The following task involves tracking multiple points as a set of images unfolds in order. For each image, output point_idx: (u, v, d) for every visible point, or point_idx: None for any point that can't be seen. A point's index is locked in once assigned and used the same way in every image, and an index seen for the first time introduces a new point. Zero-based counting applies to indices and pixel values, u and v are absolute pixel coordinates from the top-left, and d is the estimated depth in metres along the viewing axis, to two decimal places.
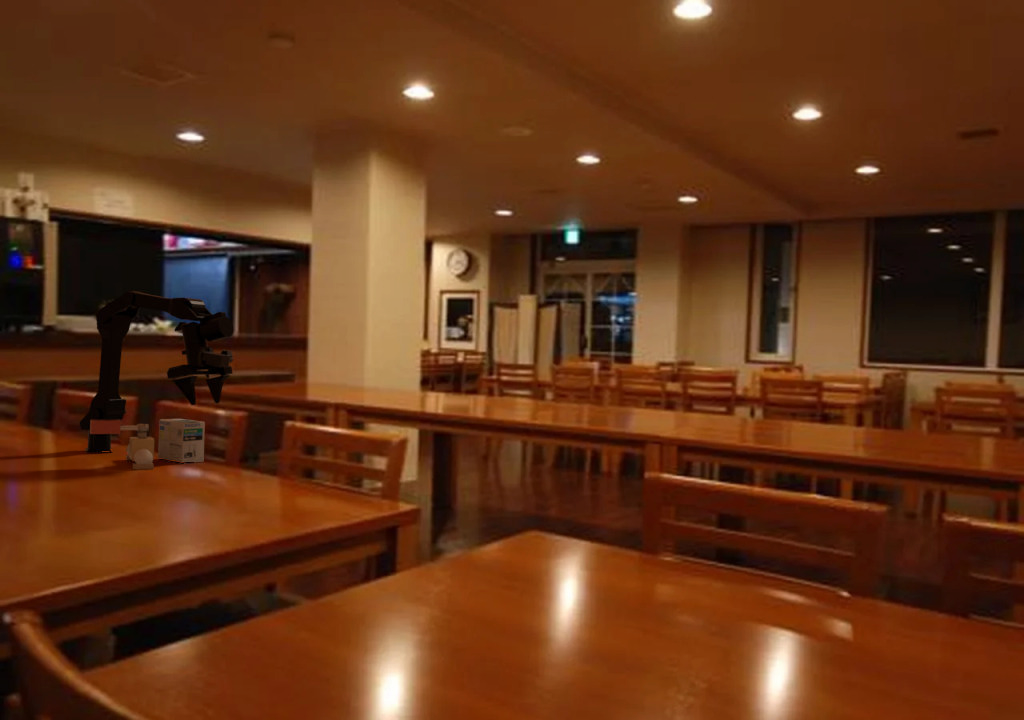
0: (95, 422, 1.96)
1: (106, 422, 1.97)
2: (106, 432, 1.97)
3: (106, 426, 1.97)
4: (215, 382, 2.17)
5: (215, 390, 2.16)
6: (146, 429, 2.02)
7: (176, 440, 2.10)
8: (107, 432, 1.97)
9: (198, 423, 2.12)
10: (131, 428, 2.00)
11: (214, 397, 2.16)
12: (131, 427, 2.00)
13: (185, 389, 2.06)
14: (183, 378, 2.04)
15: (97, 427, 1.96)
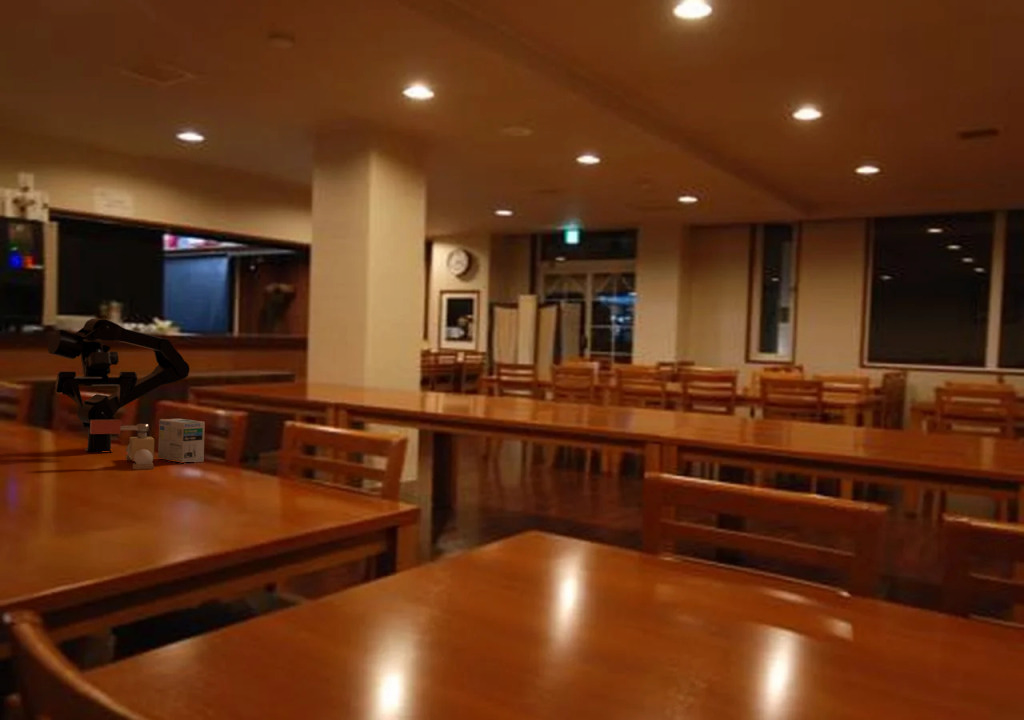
0: (95, 422, 1.96)
1: (106, 422, 1.97)
2: (106, 432, 1.97)
3: (106, 426, 1.97)
4: (119, 389, 2.16)
5: (119, 395, 2.15)
6: (146, 429, 2.02)
7: (176, 440, 2.10)
8: (107, 432, 1.97)
9: (198, 423, 2.12)
10: (131, 428, 2.00)
11: (118, 402, 2.14)
12: (131, 427, 2.00)
13: (73, 396, 2.09)
14: (64, 384, 2.08)
15: (97, 427, 1.96)
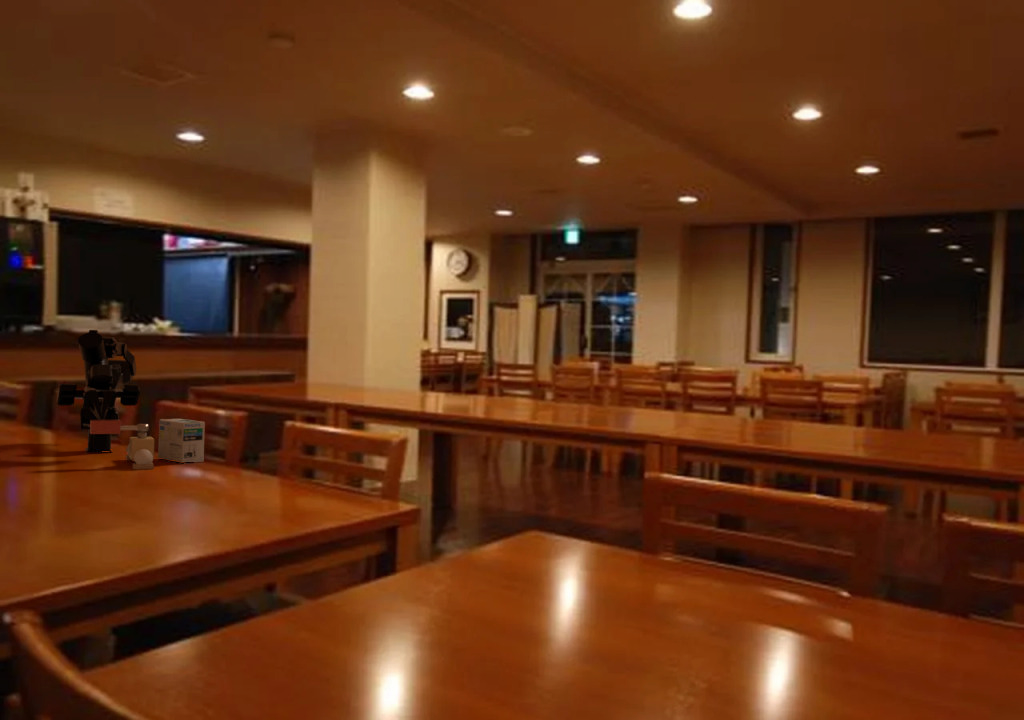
0: (95, 422, 1.96)
1: (106, 422, 1.97)
2: (106, 432, 1.97)
3: (106, 426, 1.97)
4: (102, 402, 2.08)
5: (101, 409, 2.07)
6: (146, 429, 2.02)
7: (176, 440, 2.10)
8: (107, 432, 1.97)
9: (198, 423, 2.12)
10: (131, 428, 2.00)
11: None
12: (131, 427, 2.00)
13: (93, 409, 2.07)
14: (84, 396, 2.06)
15: (97, 427, 1.96)
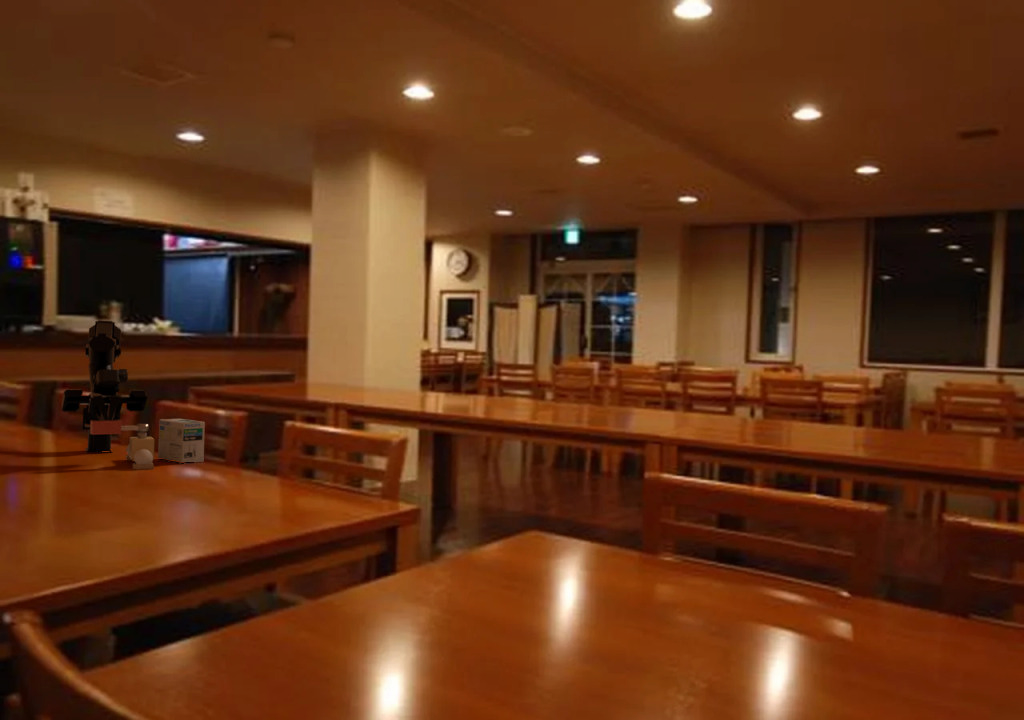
0: (96, 422, 1.95)
1: (107, 422, 1.96)
2: (107, 432, 1.96)
3: (107, 426, 1.96)
4: (108, 408, 2.02)
5: (108, 415, 2.01)
6: (146, 429, 2.02)
7: (176, 440, 2.10)
8: (108, 432, 1.97)
9: (198, 423, 2.12)
10: (132, 428, 2.00)
11: None
12: (132, 427, 2.00)
13: (99, 415, 2.01)
14: (90, 402, 2.00)
15: (98, 427, 1.95)
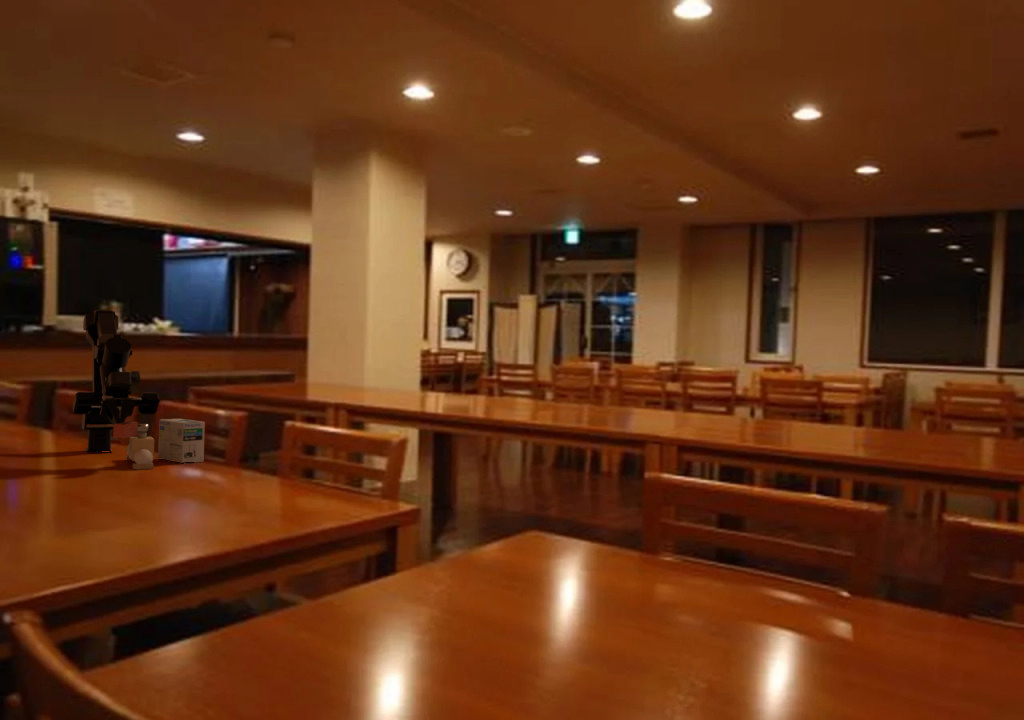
0: (126, 426, 1.92)
1: (131, 425, 1.94)
2: (131, 435, 1.94)
3: (131, 429, 1.94)
4: (120, 411, 1.98)
5: (120, 418, 1.97)
6: None
7: (176, 440, 2.10)
8: (131, 435, 1.94)
9: (198, 423, 2.12)
10: (140, 429, 2.00)
11: None
12: (140, 428, 2.00)
13: (111, 418, 1.97)
14: (102, 405, 1.96)
15: (127, 430, 1.92)
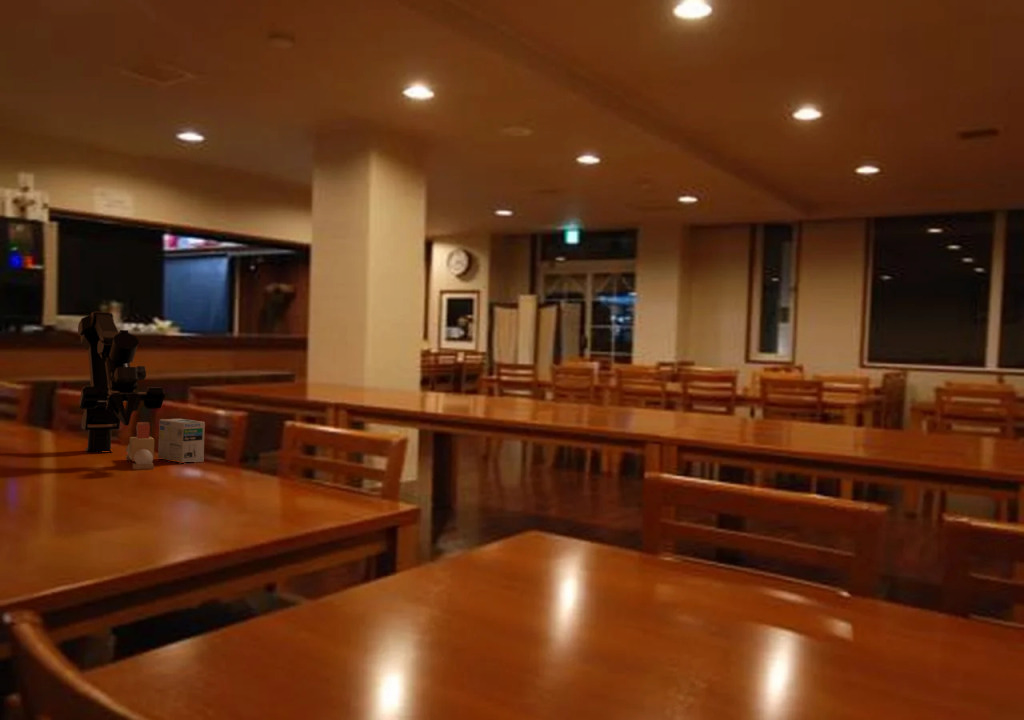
0: (149, 426, 1.93)
1: None
2: None
3: None
4: (126, 406, 2.01)
5: (126, 413, 2.00)
6: None
7: (176, 440, 2.10)
8: None
9: (198, 423, 2.12)
10: None
11: None
12: None
13: (118, 412, 2.00)
14: (108, 400, 1.99)
15: None
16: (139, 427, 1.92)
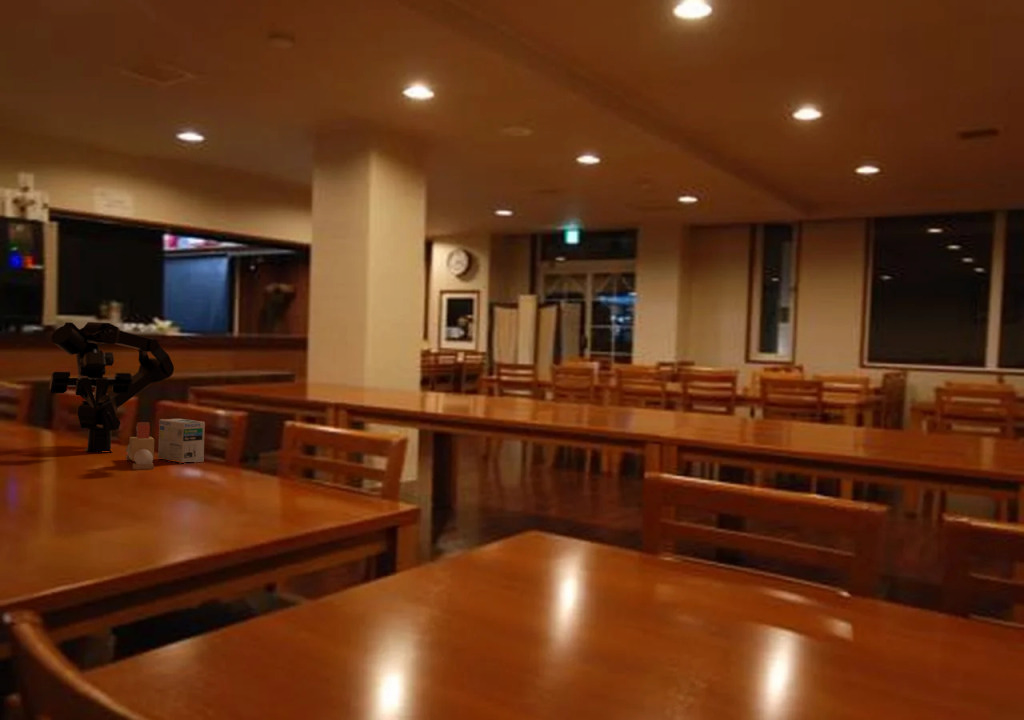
0: (149, 426, 1.93)
1: None
2: None
3: None
4: (95, 390, 2.10)
5: (95, 396, 2.09)
6: None
7: (176, 440, 2.10)
8: None
9: (198, 423, 2.12)
10: None
11: None
12: None
13: (86, 396, 2.09)
14: (77, 384, 2.08)
15: None
16: (139, 427, 1.92)
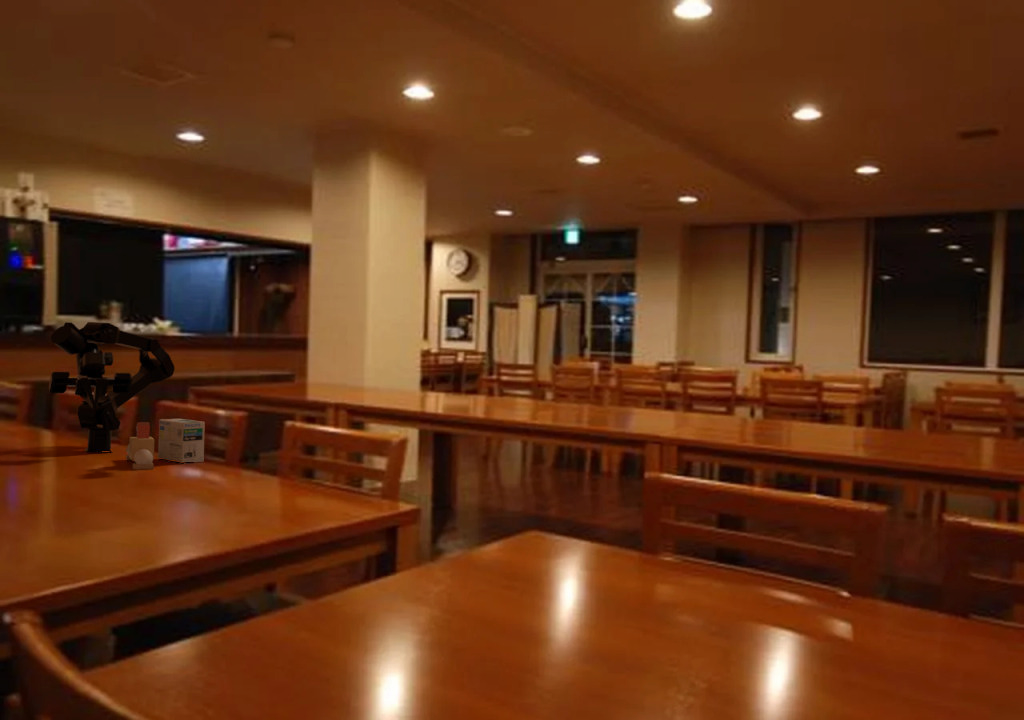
0: (149, 426, 1.93)
1: None
2: None
3: None
4: (94, 390, 2.10)
5: (94, 396, 2.09)
6: None
7: (176, 440, 2.10)
8: None
9: (198, 423, 2.12)
10: None
11: None
12: None
13: (86, 396, 2.09)
14: (77, 384, 2.08)
15: None
16: (139, 427, 1.92)
